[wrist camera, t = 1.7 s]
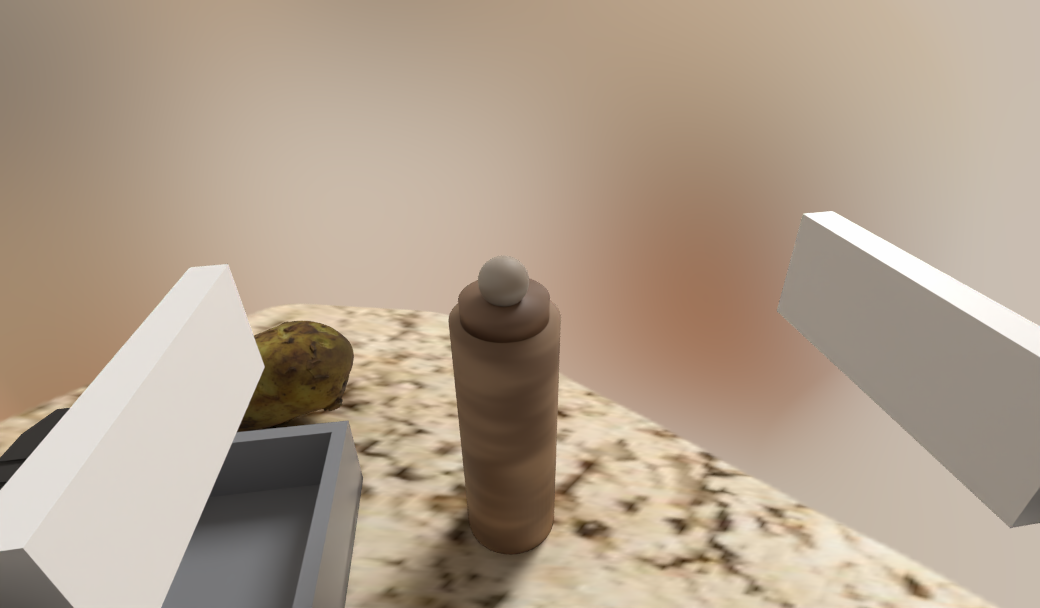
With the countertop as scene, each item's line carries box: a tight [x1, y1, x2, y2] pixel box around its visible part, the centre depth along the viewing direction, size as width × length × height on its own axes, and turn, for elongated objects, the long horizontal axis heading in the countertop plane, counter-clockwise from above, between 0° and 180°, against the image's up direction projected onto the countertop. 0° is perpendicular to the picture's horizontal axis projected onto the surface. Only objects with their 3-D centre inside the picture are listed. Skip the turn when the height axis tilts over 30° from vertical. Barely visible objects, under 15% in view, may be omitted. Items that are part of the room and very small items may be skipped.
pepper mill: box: [449, 256, 561, 554], centre depth 26 cm, size 5×5×17 cm
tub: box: [161, 421, 363, 608], centre depth 26 cm, size 12×12×5 cm
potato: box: [237, 321, 354, 432], centre depth 35 cm, size 8×13×8 cm, turn 79°
